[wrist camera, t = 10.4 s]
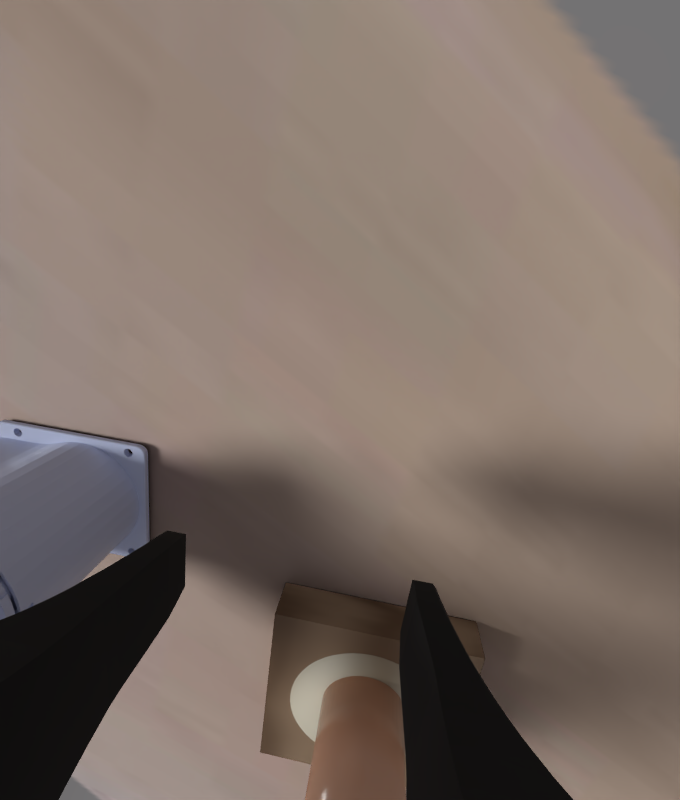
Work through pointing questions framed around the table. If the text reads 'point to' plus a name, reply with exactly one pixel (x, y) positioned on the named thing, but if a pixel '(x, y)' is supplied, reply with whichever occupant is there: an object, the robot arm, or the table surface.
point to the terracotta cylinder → (358, 743)
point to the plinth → (331, 659)
